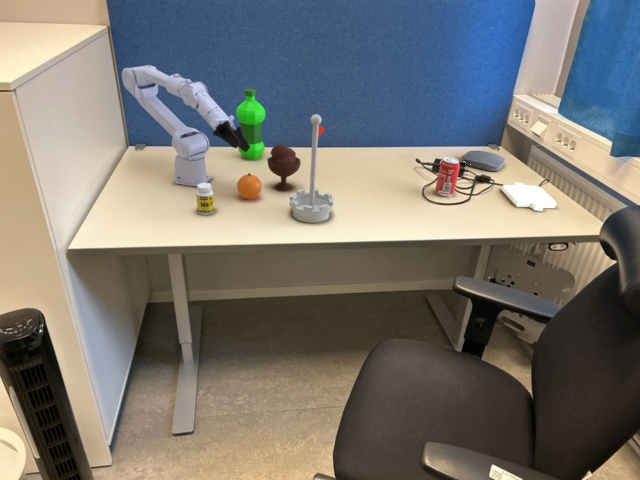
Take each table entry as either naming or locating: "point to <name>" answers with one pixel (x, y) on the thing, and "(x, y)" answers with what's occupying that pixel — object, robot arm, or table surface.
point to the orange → (249, 186)
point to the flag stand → (312, 188)
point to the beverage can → (447, 176)
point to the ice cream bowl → (283, 164)
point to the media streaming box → (484, 160)
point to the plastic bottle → (251, 124)
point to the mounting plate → (528, 196)
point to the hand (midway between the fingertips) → (242, 147)
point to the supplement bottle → (205, 198)
